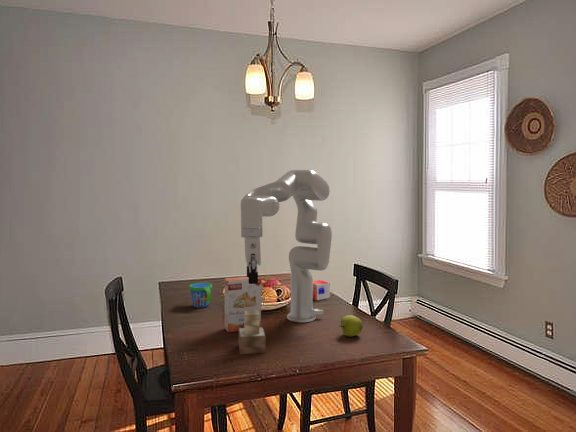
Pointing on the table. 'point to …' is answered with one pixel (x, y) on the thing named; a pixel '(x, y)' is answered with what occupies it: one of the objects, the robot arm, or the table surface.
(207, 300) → the snack cup
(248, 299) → the cracker box
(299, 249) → the robot arm
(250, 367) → the table surface
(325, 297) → the red and white cube
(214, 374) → the table surface
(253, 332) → the beech block
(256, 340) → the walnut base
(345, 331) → the apple
